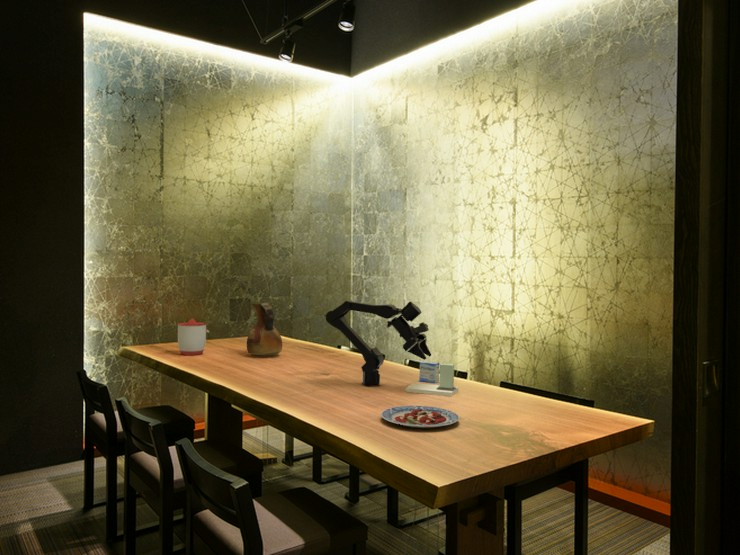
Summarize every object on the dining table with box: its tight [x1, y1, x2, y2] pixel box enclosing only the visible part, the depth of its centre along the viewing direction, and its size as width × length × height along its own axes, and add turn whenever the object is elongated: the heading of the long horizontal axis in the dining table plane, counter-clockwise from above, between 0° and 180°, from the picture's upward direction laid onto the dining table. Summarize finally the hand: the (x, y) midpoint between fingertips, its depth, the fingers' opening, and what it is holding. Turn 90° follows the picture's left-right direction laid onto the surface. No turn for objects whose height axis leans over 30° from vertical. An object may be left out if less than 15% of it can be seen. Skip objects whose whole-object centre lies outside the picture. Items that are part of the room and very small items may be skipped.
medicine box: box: [418, 360, 440, 384], centre depth 258 cm, size 8×4×9 cm, turn 62°
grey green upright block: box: [439, 363, 455, 389], centre depth 235 cm, size 5×4×10 cm
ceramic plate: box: [380, 405, 460, 429], centre depth 191 cm, size 26×26×3 cm
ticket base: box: [405, 382, 459, 397], centre depth 238 cm, size 19×12×2 cm, turn 68°
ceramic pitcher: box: [246, 302, 283, 356], centre depth 322 cm, size 20×20×30 cm
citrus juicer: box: [177, 318, 210, 356], centre depth 323 cm, size 16×17×20 cm
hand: (428, 357), depth 240 cm, fingers open, 9 cm apart
